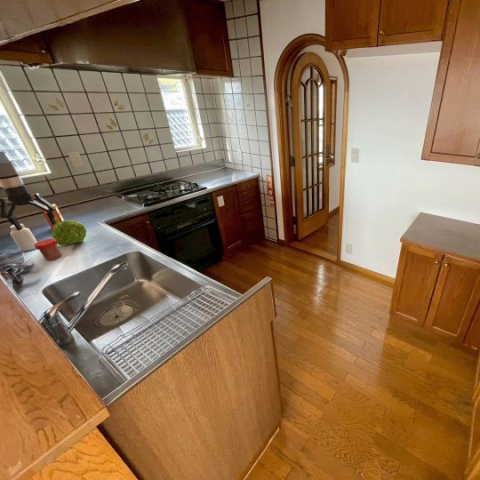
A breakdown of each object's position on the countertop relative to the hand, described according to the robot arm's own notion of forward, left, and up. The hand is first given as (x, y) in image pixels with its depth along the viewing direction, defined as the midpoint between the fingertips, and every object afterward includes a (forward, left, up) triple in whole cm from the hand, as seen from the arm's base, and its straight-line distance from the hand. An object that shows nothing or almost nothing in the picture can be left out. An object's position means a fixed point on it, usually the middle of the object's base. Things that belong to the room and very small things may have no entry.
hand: (37, 226), depth 134 cm
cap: (0, -1, -9) cm, 9 cm away
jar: (0, -1, -20) cm, 20 cm away
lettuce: (+2, +23, -20) cm, 31 cm away
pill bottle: (-20, +25, -20) cm, 38 cm away
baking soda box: (-15, +55, -20) cm, 61 cm away
